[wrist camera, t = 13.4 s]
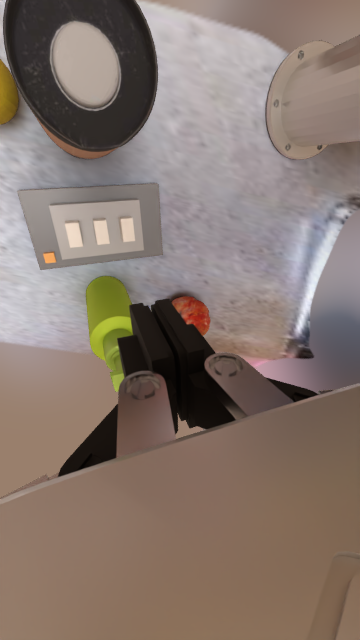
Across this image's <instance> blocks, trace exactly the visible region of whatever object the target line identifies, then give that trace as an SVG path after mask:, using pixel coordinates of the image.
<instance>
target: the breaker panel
mask: <svg viewBox="0 0 360 640" xmlns="http://www.w3.org/2000/svg"><path fill="white" fill-rule="evenodd" d="M17 192H18V196H19V199H20V202H21V206H22V209H23V213H24V216H25V219H26V223H27V226H28V230H29V233H30V236H31V240H32V243H33V247H34V250H35V253H36V257H37V260H38V264H39V267H40V270H45V269H53V268H61V267H69V266H77V265H85V264H93V263H101V262H109V261H117V260H125V259H134V258H142V257H150V256H158V255H163V250H162V234H161V218H160V202H159V185H158V184H156V183H150V184H130V185H110V186H90V187H70V188H50V189H30V190H19V191H17Z"/></svg>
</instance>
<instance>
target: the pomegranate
mask: <svg viewBox="0 0 360 640" xmlns="http://www.w3.org/2000/svg"><path fill="white" fill-rule="evenodd" d="M172 304H173V306H174V307H175V308H176V310H177V311H178V313H179V314H180V315H181V317H182V318H183V320H184V321H185V322H186V324H194V325H195V327H196V328H197V329H198V331H199V332H200V333H201V335H202V336H203V335H205V334H206V333H207V331H208V329H209V324H210V317H209V314H208V313H209V310H208V308H207V307H206V306H205V304H204V303H202V302H201V301H199V300H196V299H195V298H194V297H188V296H185V297H180V298H177V299H175V300H173V301H172Z"/></svg>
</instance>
